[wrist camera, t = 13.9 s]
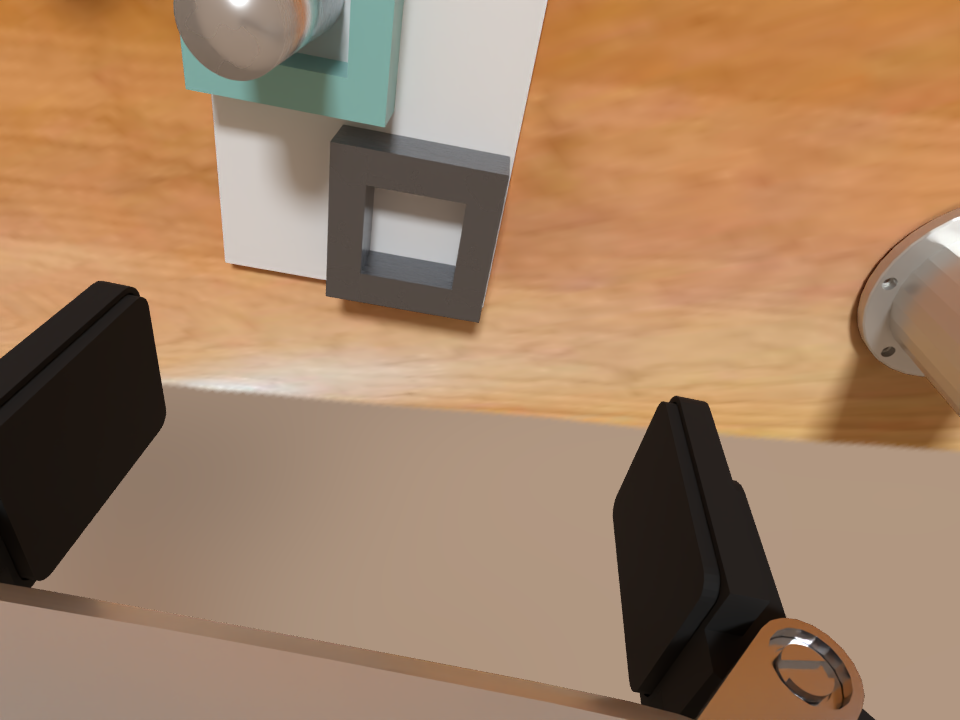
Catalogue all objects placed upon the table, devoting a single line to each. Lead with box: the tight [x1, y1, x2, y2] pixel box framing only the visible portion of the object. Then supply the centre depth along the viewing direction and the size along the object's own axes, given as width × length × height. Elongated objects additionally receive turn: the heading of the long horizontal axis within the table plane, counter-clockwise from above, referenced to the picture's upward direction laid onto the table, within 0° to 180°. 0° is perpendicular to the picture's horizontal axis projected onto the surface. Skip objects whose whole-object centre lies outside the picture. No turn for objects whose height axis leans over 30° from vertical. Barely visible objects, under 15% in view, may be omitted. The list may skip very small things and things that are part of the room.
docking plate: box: [211, 0, 548, 308], centre depth 35 cm, size 17×22×1 cm
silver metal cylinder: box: [174, 0, 345, 81], centre depth 27 cm, size 4×4×10 cm
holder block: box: [326, 125, 510, 323], centre depth 37 cm, size 10×10×3 cm
